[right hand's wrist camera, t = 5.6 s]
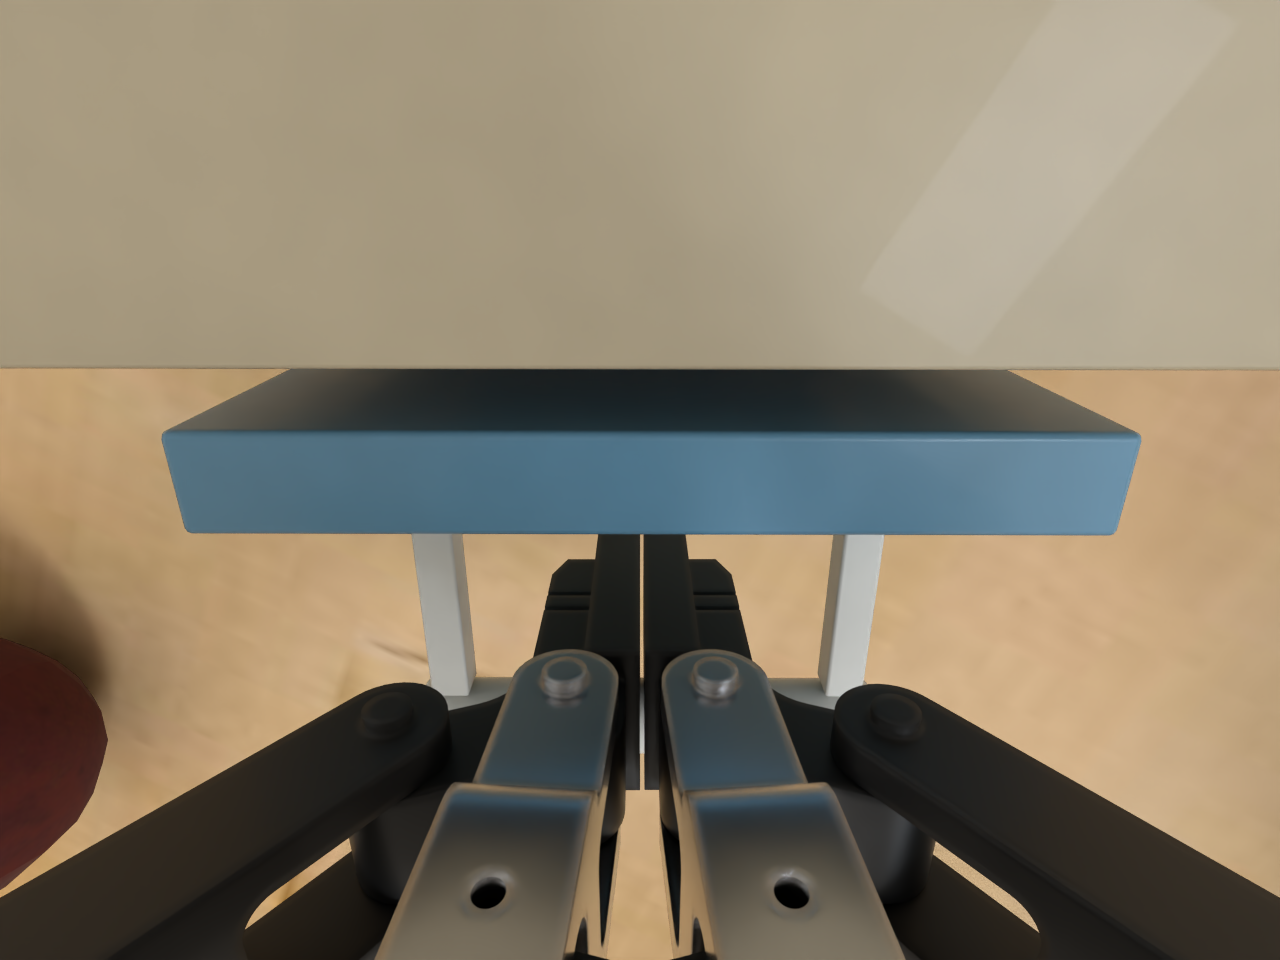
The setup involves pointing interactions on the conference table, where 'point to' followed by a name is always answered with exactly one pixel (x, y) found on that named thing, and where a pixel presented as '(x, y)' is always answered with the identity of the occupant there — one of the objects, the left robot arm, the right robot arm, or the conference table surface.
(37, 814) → the potato
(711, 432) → the drawer
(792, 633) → the conference table surface
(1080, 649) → the conference table surface
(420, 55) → the cabinet
